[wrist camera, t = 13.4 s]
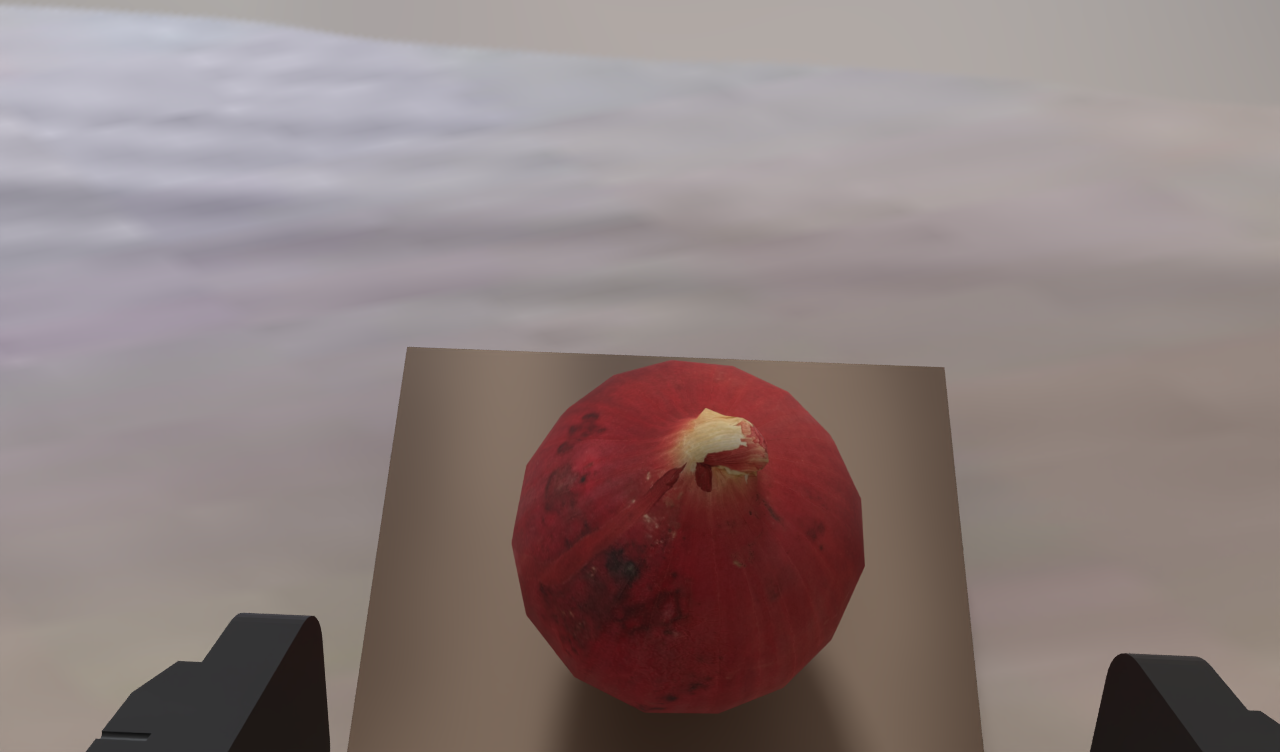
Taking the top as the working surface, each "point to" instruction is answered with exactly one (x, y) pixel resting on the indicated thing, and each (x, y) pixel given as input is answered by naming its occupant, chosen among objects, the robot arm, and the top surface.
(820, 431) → the pomegranate
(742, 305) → the top surface
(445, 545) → the plinth
